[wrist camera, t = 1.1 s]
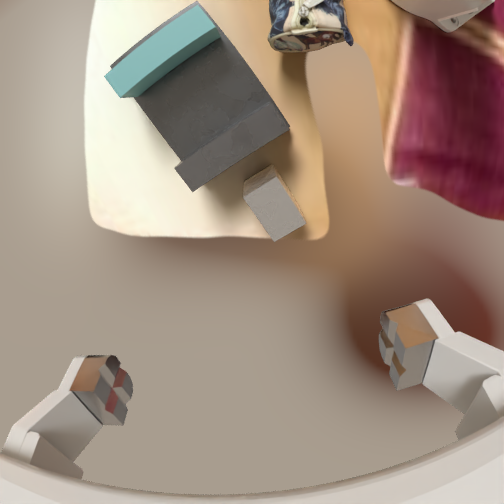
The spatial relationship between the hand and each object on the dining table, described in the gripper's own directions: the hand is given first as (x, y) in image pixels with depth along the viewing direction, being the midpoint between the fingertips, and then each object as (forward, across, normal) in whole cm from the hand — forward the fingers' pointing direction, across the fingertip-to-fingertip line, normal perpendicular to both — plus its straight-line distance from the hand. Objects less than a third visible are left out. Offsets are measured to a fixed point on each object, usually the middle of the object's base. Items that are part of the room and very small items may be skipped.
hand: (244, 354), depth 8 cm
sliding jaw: (+27, +5, -14) cm, 31 cm away
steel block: (+30, -2, +5) cm, 30 cm away
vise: (+29, +3, -9) cm, 31 cm away
